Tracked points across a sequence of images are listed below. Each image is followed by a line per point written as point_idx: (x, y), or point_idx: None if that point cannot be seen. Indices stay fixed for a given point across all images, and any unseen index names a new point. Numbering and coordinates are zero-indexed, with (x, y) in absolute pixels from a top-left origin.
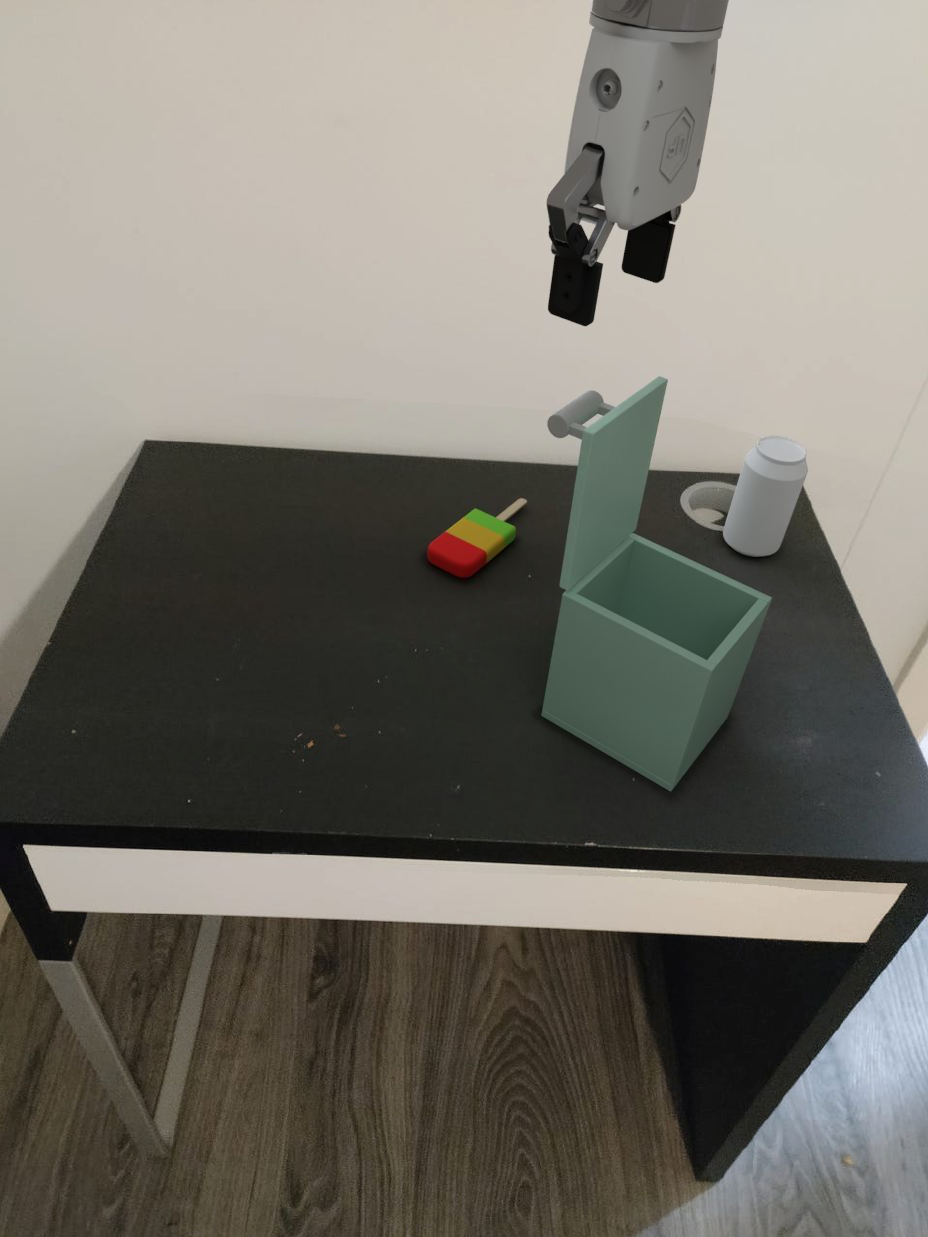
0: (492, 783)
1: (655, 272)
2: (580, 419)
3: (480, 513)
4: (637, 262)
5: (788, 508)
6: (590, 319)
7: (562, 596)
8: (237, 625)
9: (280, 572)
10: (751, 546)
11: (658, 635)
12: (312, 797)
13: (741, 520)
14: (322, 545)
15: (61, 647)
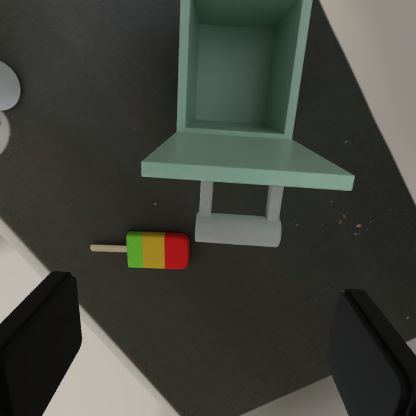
0: (333, 126)
1: (67, 292)
2: (252, 218)
3: (131, 261)
4: (68, 336)
5: None
6: (367, 294)
7: None
8: (302, 308)
9: (251, 318)
10: (12, 78)
11: (296, 47)
12: (390, 202)
13: (2, 92)
14: (215, 315)
15: None
